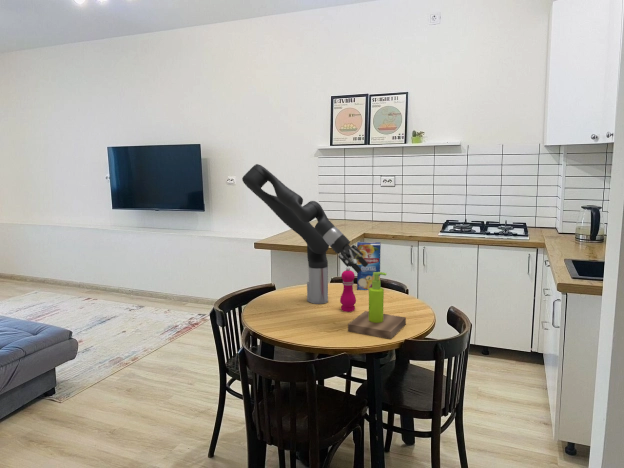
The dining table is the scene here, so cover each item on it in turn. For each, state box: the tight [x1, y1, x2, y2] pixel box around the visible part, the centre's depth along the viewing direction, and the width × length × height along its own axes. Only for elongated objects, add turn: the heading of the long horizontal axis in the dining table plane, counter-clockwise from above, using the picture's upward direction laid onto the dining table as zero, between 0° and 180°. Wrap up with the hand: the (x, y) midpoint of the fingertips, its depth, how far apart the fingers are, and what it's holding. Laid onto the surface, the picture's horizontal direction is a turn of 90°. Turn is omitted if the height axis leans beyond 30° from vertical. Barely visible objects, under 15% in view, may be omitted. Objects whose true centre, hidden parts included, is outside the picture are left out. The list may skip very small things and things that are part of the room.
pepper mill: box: [339, 266, 357, 313], centre depth 211 cm, size 7×7×20 cm
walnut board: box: [347, 310, 407, 340], centre depth 190 cm, size 18×18×3 cm
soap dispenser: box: [368, 271, 387, 323], centre depth 188 cm, size 6×7×20 cm
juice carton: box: [356, 241, 382, 291], centre depth 245 cm, size 12×8×24 cm, turn 83°
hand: (363, 268), depth 191 cm, fingers open, 8 cm apart
